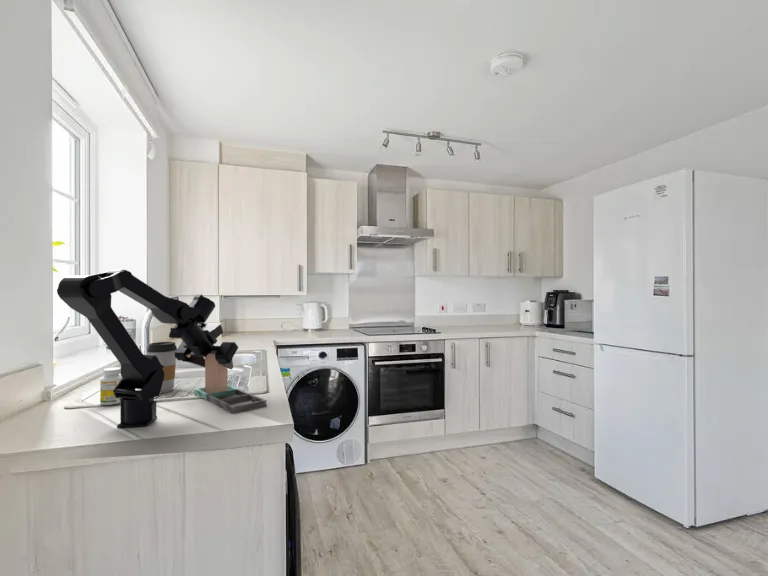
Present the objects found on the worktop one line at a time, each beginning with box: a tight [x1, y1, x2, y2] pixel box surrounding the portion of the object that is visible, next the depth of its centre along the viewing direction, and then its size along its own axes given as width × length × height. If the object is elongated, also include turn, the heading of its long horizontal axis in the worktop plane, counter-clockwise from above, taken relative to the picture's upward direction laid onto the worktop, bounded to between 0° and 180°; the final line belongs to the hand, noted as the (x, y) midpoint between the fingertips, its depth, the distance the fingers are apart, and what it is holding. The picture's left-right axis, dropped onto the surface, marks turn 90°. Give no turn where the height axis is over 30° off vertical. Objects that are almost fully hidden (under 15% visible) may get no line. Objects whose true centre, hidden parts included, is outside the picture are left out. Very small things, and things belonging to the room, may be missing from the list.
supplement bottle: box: [99, 367, 122, 406], centre depth 114 cm, size 5×5×10 cm
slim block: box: [204, 354, 229, 394], centre depth 123 cm, size 4×4×13 cm
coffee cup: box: [146, 341, 178, 394], centre depth 127 cm, size 8×8×15 cm
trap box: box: [194, 384, 267, 414], centre depth 117 cm, size 27×10×2 cm, turn 44°
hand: (219, 367), depth 124 cm, fingers open, 9 cm apart
